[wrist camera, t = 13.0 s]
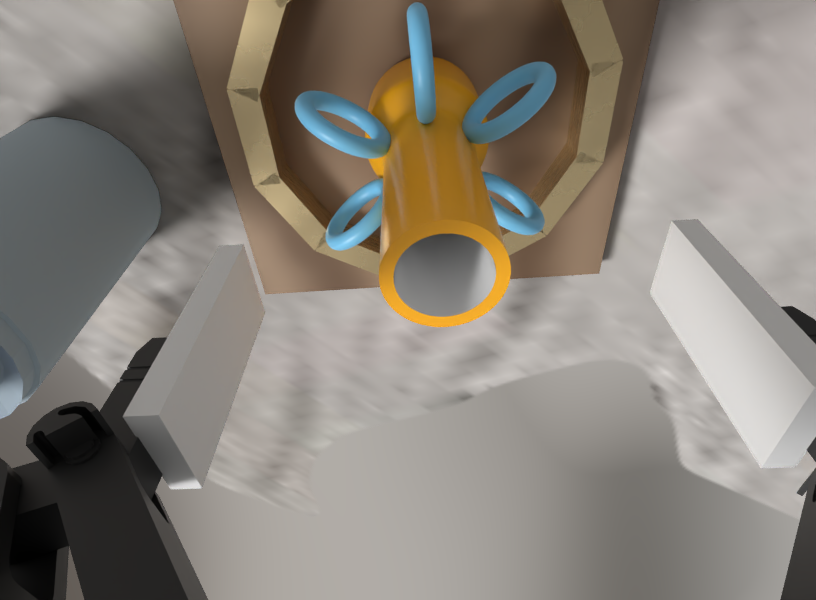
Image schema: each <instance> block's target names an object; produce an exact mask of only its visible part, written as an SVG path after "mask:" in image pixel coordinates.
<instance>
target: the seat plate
mask: <svg viewBox="0 0 816 600" xmlns="http://www.w3.org/2000/svg"><path fill="white" fill-rule="evenodd" d="M602 1H603V4H604V7H605V10H606V12H607V15H608V18H609V21H610V24H611V26H612V29H613V32H614V35H615V38H616V41H617V43H618V46H619V49H620V52H621V55H622V57H623V59H622V60H623V65H622V70H621V75H620V80H619V85H618V90H617V95H616V101H615V106H614V111H613V116H612V121H611V126H610V131H609V137H608V142H607V147H606V152H605V157H604V162H602V163H603V164H602V165H601V166H600V168H599V169H598V170H597V171H596V173H595V174H594V175H593V177H592V178H591V179H590V181H589V182H588V183H587V184H586V186H585V187H584V188H583V190H582V191H581V192H580V193H579V195H578V196H577V197H576V199H575V200H574V201H573V202H572V204H571V205H570V206H569V208H568V209H567V210H566V212H565V213H564V214H563V215H562V217H561V218H560V219H559V221H558V222H557V223H556V224H555V226H554V227H553V228H552V230H551V231H550V232H549V233H548V235H546V237H544V238H542V239H540V240H538V241H536V242H534V243H532V244H530V245H528V246H526V247H525V248H523V249H521V250H519V251H517V252H515V253H513V254H511V255H509V259H510V264H511V276H510V279H517V278H533V277H549V276H565V275H582V274H598V273H599V271H600V267H601V262H602V258H603V253H604V249H605V244H606V240H607V235H608V231H609V226H610V222H611V217H612V213H613V208H614V204H615V199H616V195H617V190H618V185H619V181H620V176H621V172H622V167H623V163H624V158H625V154H626V149H627V145H628V140H629V136H630V131H631V127H632V122H633V118H634V113H635V109H636V104H637V100H638V95H639V91H640V86H641V82H642V77H643V73H644V68H645V64H646V59H647V55H648V50H649V46H650V41H651V37H652V32H653V28H654V23H655V19H656V14H657V10H658V5H659V1H660V0H602ZM248 2H249V0H174V4H175V7H176V10H177V13H178V16H179V20H180V23H181V26H182V29H183V32H184V36H185V39H186V42H187V45H188V48H189V52H190V55H191V58H192V61H193V64H194V67H195V71H196V74H197V77H198V80H199V83H200V87H201V90H202V93H203V96H204V99H205V103H206V106H207V109H208V112H209V115H210V119H211V122H212V125H213V128H214V131H215V134H216V138H217V141H218V144H219V147H220V150H221V154H222V157H223V160H224V163H225V166H226V170H227V173H228V176H229V179H230V182H231V186H232V189H233V192H234V195H235V198H236V202H237V205H238V208H239V211H240V214H241V217H242V221H243V224H244V227H245V230H246V233H247V237H248V240H249V243H250V246H251V249H252V253H253V256H254V259H255V262H256V265H257V269H258V272H259V275H260V278H261V281H262V284H263V288H264V291H265V294H276V293H292V292H308V291H324V290H340V289H357V288H373V287H380V284H379V275H376V274H374V273H371V272H369V271H366V270H363V269H361V268H358V267H356V266H353V265H350V264H348V263H345V262H343V261H340V260H337V259H335V258H332V257H330V256H327V255H324V254H322V253H319V252H316V250H313V248H312V247H311V246H310V245H309V244H308V243H307V242H306V241H305V240H304V239H303V238H302V237H301V236H300V235H299V234H298V233H297V231H296V230H295V229H294V228H293V227H292V226H291V225H290V224H289V223H288V222H287V221H286V220H285V219H284V218H283V217H282V216H281V214H280V213H279V212H278V211H277V210H276V209H275V208H274V207H273V206H272V205H271V204H270V203H269V202H268V201H267V200H266V199H265V197H264V196H263V195H262V194H261V193H260V192H259V191H258V190H257V189H256V188H255V185H253V181H252V178H251V174H250V171H249V167H248V164H247V160H246V156H245V153H244V149H243V146H242V142H241V139H240V135H239V132H238V128H237V125H236V121H235V118H234V114H233V110H232V107H231V103H230V100H229V96H228V93H227V85H228V81H229V77H230V73H231V69H232V65H233V61H234V57H235V53H236V49H237V45H238V41H239V37H240V33H241V29H242V25H243V21H244V17H245V14H246V10H247V6H248ZM415 2H419V3H422V4H423V5H424V6H425V7H426V9H427V12H428V17H429V24H430V33H431V42H432V53H433V57H438V58H442V59H445V60H447V61H449V62H451V63H453V64H454V65H456V66H457V67H459V68H460V69H461V70H462V71H463V72H464V73H465V74H466V75H467V76H468V78H469V79H470V81H471V82H472V84H473V86H474V88H475V90H476V92H477V94H478V97H479V96H480V95H481V94H482V93H483V92H484V91H485V90H487V89H488V88H489V87H490V86H491V85H492V84H494V83H495V82H496V81H498V80H499V79H500V78H502V77H503V76H505V75H506V74H508V73H509V72H511V71H513V70H515V69H517V68H519V67H521V66H523V65H526V64H528V63H532V62H546V63H549V64H550V65H552V66H553V68H554V69H555V72H556V84H555V87H554V90H553V92H552V94H551V95H550V97H549V98H548V100H547V101H546V103H545V104H544V105H543V106H542V107H541V108H540V110H539V111H538V112H537V113H536V114H535V115H533V116H532V117H531V118H530V119H529V120H528V121H527V122H525V123H524V124H523V125H521V126H520V127H519V128H517V129H516V130H514V131H513V132H511V133H509V134H508V135H506V136H504V137H502V138H500V139H498V140H495V141H492V142H489V145H488V150H487V154H486V157H485V160H484V162H483V164H482V166H481V171H483V172H488V173H491V174H494V175H497V176H499V177H501V178H503V179H505V180H507V181H508V182H510V183H512V184H513V185H515V186H516V187H518V188H519V189H520V190H522V191H523V192H524V193H526V194H527V195H528V196H529V195H530V194H531V192H532V191H533V190H534V188H535V187H536V185H537V184H538V183H539V181H540V180H541V178H542V177H543V175H544V174H545V173H546V171H547V170H548V168H549V167H550V166H551V164H552V163H553V161H554V160H555V159H556V157H557V156H558V154H559V153H560V151H561V150H562V149H563V147H564V146H565V144H566V142H567V135H568V128H569V121H570V114H571V107H572V100H573V93H574V86H575V79H576V72H577V65H578V60H577V57H576V55H575V53H574V50H573V48H572V45H571V43H570V40H569V38H568V36H567V33H566V31H565V28H564V26H563V23H562V21H561V19H560V16H559V14H558V11H557V9H556V6H555V4H554V2H553V0H293V1H292V4H291V8H290V11H289V14H288V18H287V21H286V24H285V28H284V31H283V34H282V38H281V41H280V44H279V48H278V51H277V54H276V58H275V61H274V64H273V68H272V71H271V74H270V78H269V81H268V87H269V92H270V96H271V100H272V105H273V109H274V113H275V118H276V122H277V126H278V131H279V135H280V139H281V144H282V148H283V152H284V157H285V161H286V163H287V164H288V166H289V167H290V168H291V169H292V170H293V171H294V172H295V174H296V175H297V176H298V177H299V178H300V179H301V181H302V182H303V183H304V184H305V185H306V186H307V187H308V189H309V190H310V191H311V192H312V193H313V194H314V196H315V197H316V198H317V199H318V200H319V201H320V202H321V204H322V205H323V206H324V207H325V208H326V209H327V210H328V212H329V213H330V214H331V215H332V216H334V215H335V213H336V212H337V211H338V209H339V208H340V207H341V206H342V205H343V203H344V202H345V201H346V200H347V199H348V198H349V197H350V196H352V195H353V194H354V193H355V192H356V191H357V190H359V189H360V188H361V187H363V186H364V185H366V184H368V183H369V182H371V181H373V180H376V179H379V177H378V176H377V175H376V173H375V172H374V170H373V168H372V166H371V164H370V162H369V160H368V158H361V157H357V156H353V155H350V154H347V153H345V152H342V151H340V150H338V149H336V148H334V147H332V146H330V145H328V144H326V143H325V142H323V141H321V140H320V139H319V138H317V137H316V136H314V135H313V134H312V133H311V132H310V131H308V130H307V129H306V128H305V127H304V125H303V124H302V123H301V122H300V120H299V119H298V117H297V115H296V112H295V101H296V99H297V97H298V96H299V95H300V94H302V93H303V92H306V91H323V92H327V93H331V94H334V95H337V96H340V97H342V98H344V99H347V100H349V101H351V102H353V103H355V104H356V105H358V106H360V107H362V108H363V109H365V110H366V111H368V106H369V102H370V98H371V95H372V92H373V90H374V88H375V86H376V84H377V82H378V81H379V79H380V78H381V77H382V76H383V75H384V74H385V73H386V72H387V71H388V70H389V69H390V68H391V67H393V66H394V65H396V64H397V63H399V62H401V61H403V60H406V59H409V58H411V56H410V45H409V35H408V24H407V10H408V8H409V6H410V5H411V4H413V3H415ZM533 84H534V83H531V84H528V85H525V86H523V87H521V88H519V89H517V90H516V91H514V92H512V93H511V94H509V95H508V96H506V97H505V98H504V99H503V100H501V101H500V102H499V103H498V104H497V105H496V106H495V107H493V108H492V110H491V111H490V112H489V113H488V114H487V115H486V117H487V120H488V121H490V120H493V119H494V118H496V117H498V116H500V115H501V114H503V113H504V112H506V111H507V110H509V109H510V108H511V107H512V106H514V105H515V104H516V103H517V102H518V101H519V100H521V99H522V98H523V97H524V96H525V94H526V93H527V92H528V91H529V90H530V89H531V87H532V86H533ZM317 111H318V112H319V113H320V114H321V115H322V116H323V117H324V118H325V119H327V120H328V121H330V122H331V123H333V124H334V125H336V126H338V127H339V128H341V129H343V130H345V131H347V132H349V133H352V134H354V135H357V136H360V137H364V138H365V131H364V130H362V129H361V128H360V127H358V126H357V125H355V124H354V123H352V122H350V121H348V120H346V119H344V118H342V117H340V116H338V115H335V114H332V113H329V112H325V111H320V110H317ZM488 193H489V195H490V196H491V197H492V198H493V199H494V200H496V201H497V202H498V203H500V204H501V205H502V206H504V207H505V208H507V209H509V210H510V211H512V210H514V209H516V208H517V207H516V206H514V205H513V204H512V203H511V202H509V201H508V200H507V199H505V198H504V197H502V196H500V195H498V194H497V193H495V192H492V191H490V190H488ZM378 198H379V196H377V197H375V198H374V199H372V200H371V201H369V202H368V203H366V204H365V205H364V206H363V207H362V208H361V209H360V210H359V211H358V212H357V213H356V214H355V215H354V216H353V217H352V218H351V220H350V221H349V222H348V223H349V224H351V225H355V224H357V223H358V222H359V221H360V220H361V219H362V218H363V217H364V216H365V215H366V214H367V213H368V212H369V211H370V210H371V208H372V207H373V206H374V204H375V203H376V201H377V200H378ZM373 234H376V235H378V236H381V225H380V226H379V227H378V228H377V229H376V230H375V231H374V232H373Z"/></svg>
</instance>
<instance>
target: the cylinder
mask: <svg viewBox="0 0 816 600" xmlns="http://www.w3.org/2000/svg"><path fill="white" fill-rule="evenodd" d="M407 24H408V35H409V45H410V56H411V58H409V59H406V60H403V61H401V62H399V63H397V64H396V65H394V66H393V67H391V68H390V69H389V70H388V71H387V72H386V73H385V74H384V75H383V76H382V77H381V78H380V79H379V81H378V82H377V84H376V86H375V88H374V90H373V92H372V95H371V98H370V102H369V106H368V111H366V110H365V109H363V108H362V107H360V106H358V105H356V104H355V103H353V102H351V101H349V100H347V99H344V98H342V97H340V96H337V95H334V94H331V93H327V92H323V91H306V92H303V93H302V94H300V95H299V96H298V97H297V99H296V101H295V112H296V115H297V117H298V119H299V120H300V122H301V123H302V124H303V125H304V127H305V128H306V129H307V130H308V131H310V132H311V133H312V134H313V135H314V136H316V137H317V138H319V139H320V140H321V141H323V142H325V143H326V144H328V145H330V146H332V147H334V148H336V149H338V150H340V151H342V152H345V153H347V154H350V155H353V156H357V157H361V158H368V160H369V162H370V164H371V166H372V168H373V170H374V172H375V173H376V175H377V176H378V177H379V179H376V180H373V181H371V182H369V183H368V184H366V185H364V186H363V187H361V188H360V189H359V190H357V191H356V192H355V193H354V194H353V195H352V196H350V197H349V198H348V199H347V200H346V201H345V202H344V203H343V205H342V206H341V207H340V208H339V209H338V211H337V212H336V213H335V215H334V216H333V218H332V219H331V221H330V223H329V225H328V227H327V230H326V242H327V244H328V246H329V247H330V248H332V249H334V250H338V251H341V250H346V249H349V248H352V247H354V246H356V245H357V244H359V243H361V242H362V241H364V240H365V239H366V238H367V237H369V236H370V235H371V234H372V233H373V232H374V231H375V230H376V229H377V228H378V227H379V226H380V225H381V239H380V260H379V284H380V289H381V292H382V294H383V296H384V298H385V300H386V301H387V303H388V304H389V305H390V306H391V307H392V308H393V309H394V310H395V311H396V312H397V313H398V314H400V315H401V316H403V317H404V318H406V319H408V320H410V321H412V322H415V323H418V324H422V325H426V326H433V327H450V326H456V325H460V324H464V323H467V322H470V321H473V320H475V319H477V318H479V317H481V316H482V315H484V314H485V313H487V312H488V311H490V310H491V309H492V308H493V307H494V306H495V305H496V304H497V303H498V302H499V301H500V299H501V298H502V297H503V295H504V293H505V292H506V289H507V287H508V284H509V281H510V276H511V264H510V259H509V256H508V253H507V250H506V247H505V243H504V240H503V237H502V234H501V231H500V228H499V225H500V226H502V227H504V228H506V229H508V230H510V231H512V232H515V233H518V234H522V235H534V234H537V233H539V232H540V231H541V230H542V229H543V227H544V224H545V219H544V215H543V213H542V211H541V210H540V208H539V207H538V205H537V204H536V203H535V202H534V201H533V200H532V199H531V198H530V197H529V196H528V195H527V194H526V193H524V192H523V191H522V190H520V189H519V188H518V187H516V186H515V185H513V184H512V183H510V182H508V181H507V180H505V179H503V178H501V177H499V176H497V175H494V174H491V173H488V172H483V171H481V166H482V164H483V162H484V160H485V157H486V154H487V150H488V145H489V142H492V141H495V140H498V139H500V138H502V137H504V136H506V135H508V134H509V133H511V132H513V131H514V130H516V129H517V128H519V127H520V126H521V125H523V124H524V123H525V122H527V121H528V120H529V119H530V118H531V117H532V116H533V115H535V114H536V113H537V112H538V111H539V110H540V108H541V107H542V106H543V105H544V104H545V103H546V101H547V100H548V98H549V97H550V95H551V94H552V92H553V90H554V87H555V84H556V72H555V69H554V68H553V66H552V65H550V64H549V63H546V62H532V63H528V64H526V65H523V66H521V67H519V68H517V69H515V70H513V71H511V72H509V73H508V74H506V75H505V76H503V77H502V78H500V79H499V80H498V81H496V82H495V83H494V84H492V85H491V86H490V87H489V88H488V89H487V90H485V91H484V92H483V93H482V94H481V95H480V96H479V97H478V94H477V92H476V90H475V88H474V86H473V84H472V82H471V81H470V79H469V78H468V76H467V75H466V74H465V73H464V72H463V71H462V70H461V69H460V68H459V67H457V66H456V65H454V64H453V63H451V62H449V61H447V60H445V59H442V58H438V57H433V53H432V42H431V33H430V24H429V17H428V12H427V9H426V7H425V6H424V5H423V4H422V3H419V2H415V3H413V4H411V5H410V6H409V8H408V10H407ZM531 83H534V84H533V86H532V87H531V89H530V90H529V91H528V92H527V93H526V94H525V96H524V97H523V98H522V99H521V100H519V101H518V102H517V103H516V104H515V105H514V106H512V107H511V108H510V109H509V110H507V111H506V112H504V113H503V114H501V115H500V116H498V117H496V118H494V119H493V120H490V121H488V120H487V117H486V115H487V114H488V113H489V112H490V111H491V110H492V108H493V107H495V106H496V105H497V104H498V103H499V102H500V101H501V100H503V99H504V98H505V97H506V96H508V95H509V94H511V93H512V92H514V91H516V90H517V89H519V88H521V87H523V86H525V85H528V84H531ZM317 110H320V111H325V112H329V113H332V114H335V115H338V116H340V117H342V118H344V119H346V120H348V121H350V122H352V123H354V124H355V125H357V126H358V127H360V128H361V129H362V130H364V131H365V138H364V137H360V136H357V135H354V134H352V133H349V132H347V131H345V130H343V129H341V128H339V127H338V126H336V125H334V124H333V123H331V122H330V121H328V120H327V119H325V118H324V117H323V116H322V115H321V114H320V113H319V112H318V111H317ZM488 190H490V191H492V192H495V193H497V194H498V195H500V196H502V197H504V198H505V199H507V200H508V201H509V202H511V203H512V204H513V205H514V206H516V207H517V208H518V209H519V210H520V211H521V212H522V213H523V215H524V216H525V217H524V216H521V215H518V214H516V213H514V212H512V211H510V210H509V209H507V208H505V207H504V206H502V205H501V204H500V203H498V202H497V201H496V200H494V199H493V198H492V197H491V196H490V195H489V193H488ZM377 196H379V198H378V200H377V201H376V203H375V204H374V206H373V207H372V208H371V210H370V211H369V212H368V213H367V214H366V215H365V216H364V217H363V218H362V219H361V220H360V221H359V222H358V223H357V224H355V225H354V226H353V227H351V228H350V229H348V230H347V231H345V232H343V231H344V229H345V227H346V225H347V224H348V222H349V221H350V220H351V218H352V217H353V216H354V215H355V214H356V213H357V212H358V211H359V210H360V209H361V208H362V207H363V206H364V205H365V204H366V203H368V202H369V201H371V200H372V199H374V198H375V197H377Z"/></svg>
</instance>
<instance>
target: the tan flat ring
mask: <svg viewBox="0 0 816 600" xmlns="http://www.w3.org/2000/svg"><path fill="white" fill-rule="evenodd" d="M292 1H293V0H249V2H248V6H247V10H246V14H245V17H244V21H243V25H242V29H241V33H240V37H239V41H238V45H237V49H236V53H235V57H234V61H233V65H232V69H231V73H230V77H229V81H228V85H227V93H228V96H229V100H230V103H231V107H232V110H233V114H234V118H235V121H236V125H237V128H238V132H239V135H240V139H241V142H242V146H243V149H244V153H245V156H246V160H247V164H248V167H249V171H250V174H251V178H252V181H253V185H255V188H256V189H257V190H258V191H259V192H260V193H261V194H262V195H263V196H264V197H265V199H266V200H267V201H268V202H269V203H270V204H271V205H272V206H273V207H274V208H275V209H276V210H277V211H278V212H279V213H280V214H281V216H282V217H283V218H284V219H285V220H286V221H287V222H288V223H289V224H290V225H291V226H292V227H293V228H294V229H295V230H296V231H297V233H298V234H299V235H300V236H301V237H302V238H303V239H304V240H305V241H306V242H307V243H308V244H309V245H310V246H311V247H312V248H313V250H316V252H319V253H322V254H324V255H327V256H330V257H332V258H335V259H337V260H340V261H343V262H345V263H348V264H350V265H353V266H356V267H358V268H361V269H363V270H366V271H369V272H371V273H374V274H376V275H379V260H380V239H381V236H378V235H376V234H373V233H372V234H371V235H370V236H369V237H367V238H366V239H365V240H364V241H362V242H361V243H359V244H357V245H356V246H354V247H352V248H349V249H346V250H341V251H338V250H334V249H332V248H330V247H329V246H328V244H327V242H326V230H327V227H328V225H329V223H330V221H331V219H332V218H333V216H332V215H331V214H330V213H329V212H328V210H327V209H326V208H325V207H324V206H323V205H322V204H321V202H320V201H319V200H318V199H317V198H316V197H315V196H314V194H313V193H312V192H311V191H310V190H309V189H308V187H307V186H306V185H305V184H304V183H303V182H302V181H301V179H300V178H299V177H298V176H297V175H296V174H295V172H294V171H293V170H292V169H291V168H290V167H289V166H288V164H287V163H286V161H285V157H284V152H283V148H282V144H281V139H280V135H279V131H278V126H277V122H276V118H275V113H274V109H273V105H272V100H271V96H270V92H269V87H268V81H269V78H270V74H271V71H272V68H273V64H274V61H275V58H276V54H277V51H278V48H279V44H280V41H281V38H282V34H283V31H284V28H285V24H286V21H287V18H288V14H289V11H290V8H291V4H292ZM553 2H554V4H555V6H556V9H557V11H558V14H559V16H560V19H561V21H562V23H563V26H564V28H565V31H566V33H567V36H568V38H569V40H570V43H571V45H572V48H573V50H574V53H575V55H576V57H577V60H578V65H577V72H576V79H575V86H574V93H573V100H572V107H571V114H570V121H569V128H568V135H567V142H566V144H565V146H564V147H563V149H562V150H561V151H560V153H559V154H558V156H557V157H556V159H555V160H554V161H553V163H552V164H551V166H550V167H549V168H548V170H547V171H546V173H545V174H544V175H543V177H542V178H541V180H540V181H539V183H538V184H537V185H536V187H535V188H534V190H533V191H532V192H531V194H530V195H529V197H530V198H531V199H532V200H533V201H534V202H535V203H536V204H537V205H538V207H539V208H540V210H541V211H542V213H543V215H544V219H545V224H544V227H543V229H542V230H541V231H540V232H539V233H537V234H534V235H522V234H518V233H515V232H512V231H510V230H508V229H506V228H504V227H502V226H500V225H499V228H500V231H501V234H502V237H503V240H504V243H505V247H506V250H507V253H508V256H509V255H511V254H513V253H515V252H517V251H519V250H521V249H523V248H525V247H526V246H528V245H530V244H532V243H534V242H536V241H538V240H540V239H542V238H544V237H546V235H548V233H549V232H550V231H551V230H552V228H553V227H554V226H555V224H556V223H557V222H558V221H559V219H560V218H561V217H562V215H563V214H564V213H565V212H566V210H567V209H568V208H569V206H570V205H571V204H572V202H573V201H574V200H575V199H576V197H577V196H578V195H579V193H580V192H581V191H582V190H583V188H584V187H585V186H586V184H587V183H588V182H589V181H590V179H591V178H592V177H593V175H594V174H595V173H596V171H597V170H598V169H599V168H600V166H601V165H602V164H603V163H602V162H604V157H605V152H606V147H607V142H608V137H609V131H610V126H611V121H612V116H613V111H614V106H615V101H616V95H617V90H618V85H619V80H620V75H621V70H622V65H623V60H622V59H623V57H622V55H621V52H620V49H619V46H618V43H617V41H616V38H615V35H614V32H613V29H612V26H611V24H610V21H609V18H608V15H607V12H606V10H605V7H604V4H603V1H602V0H553ZM512 212H514V213H516V214H518V215H521V216H524V215H523V213H522V212H521V211H520V210H519V209H518V208H516V209H514V210H512ZM524 217H525V216H524ZM353 226H354V225H351V224H349V223H348V224H347V225H346V227H345V229H344V231H343V232H345V231H347V230H348V229H350V228H351V227H353Z"/></svg>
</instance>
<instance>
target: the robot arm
mask: <svg viewBox="0 0 816 600" xmlns="http://www.w3.org/2000/svg"><path fill="white" fill-rule="evenodd" d="M650 294H651V296H652V298H653V299H654V301H655V302H656V304H657V305H658V307H659V309H660V310H661V312H662V313H663V315H664V316H665V318H666V320H667V321H668V323H669V324H670V326H671V327H672V329H673V331H674V332H675V334H676V335H677V337H678V338H679V340H680V342H681V343H682V345H683V346H684V348H685V349H686V351H687V353H688V354H689V356H690V357H691V359H692V360H693V362H694V364H695V365H696V367H697V368H698V370H699V371H700V373H701V375H702V376H703V378H704V379H705V381H706V382H707V384H708V386H709V387H710V389H711V390H712V392H713V393H714V395H715V397H716V398H717V400H718V401H719V403H720V404H721V406H722V408H723V409H724V411H725V412H726V414H727V415H728V417H729V419H730V420H731V422H732V423H733V425H734V426H735V428H736V430H737V431H738V433H739V434H740V436H741V437H742V439H743V441H744V442H745V444H746V445H747V447H748V449H749V450H750V452H751V453H752V455H753V456H754V458H755V460H756V461H757V463H758V464H759V466H760V467H761V468H787V467H796V466H797V464H798V463H799V462H800V460H801V459H802V458H803V456H804V455H805V454H806V452H807V451H808V452H809V454H810V455H811V456H812V458H813V459H814V460H815V462H816V321H815V320H814V319H813V318H811V317H810V316H808V315H806V314H805V313H803V312H801V311H800V310H798V309H796V308H794V307H793V306H787V307H780V306H779V305H778V304H777V303H776V302H775V301H774V300H773V299H772V297H771V296H770V295H769V294H768V293H767V292H766V291H765V290H764V289H763V288H762V287H761V286H760V285H759V284H758V283H757V282H756V281H755V279H754V278H753V277H752V276H751V275H750V274H749V273H748V272H747V271H746V270H745V269H744V268H743V267H742V266H741V265H740V264H739V263H738V262H737V260H736V259H735V258H734V257H733V256H732V255H731V254H730V253H729V252H728V251H727V250H726V249H725V248H724V247H723V246H722V245H721V244H720V242H719V241H718V240H717V239H716V238H715V237H714V236H713V235H712V234H711V233H710V232H709V231H708V230H707V229H706V228H705V227H704V226H703V224H702V223H701V222H700V221H699V220H698V219H694V220H676V221H671V225H670V228H669V231H668V235H667V238H666V241H665V244H664V248H663V251H662V254H661V258H660V261H659V264H658V268H657V271H656V274H655V277H654V281H653V284H652V287H651V291H650ZM264 314H265V310H264V307H263V304H262V301H261V298H260V295H259V291H258V288H257V285H256V282H255V279H254V276H253V273H252V269H251V266H250V263H249V260H248V257H247V254H246V251H245V247H244V244H243V245H225V246H219V248H218V249H217V251H216V253H215V255H214V256H213V258H212V260H211V262H210V263H209V265H208V267H207V269H206V270H205V272H204V274H203V276H202V278H201V279H200V281H199V283H198V285H197V286H196V288H195V290H194V292H193V293H192V295H191V297H190V299H189V300H188V302H187V304H186V306H185V307H184V309H183V311H182V313H181V315H180V316H179V318H178V320H177V322H176V323H175V325H174V327H173V329H172V330H171V332H170V334H169V336H168V337H167V338H152V339H151V340H150V341H149V342H147V343H146V344H145V345H144V346H143V347H142V348H141V349H139V350H138V351H137V352H136V354H135V355H134V357H133V359H132V360H131V362H130V363H129V365H128V367H127V370H125V372H124V373H123V375H122V376H121V378H120V382H119V383H117V384H116V386H115V388H114V389H113V391H112V393H111V394H110V396H109V398H108V399H107V401H106V402H105V404H104V405H103V407H102V409H101V410H100V412H99V411H98V409H97V408H96V407H95V406H94V405H93V404H92V403H87V402H83V401H82V402H73V403H68V404H66V405H63V406H60V407H58V408H56V409H54V410H52V411H51V412H49V413H48V414H46V415H44V416H43V417H42V418H41V419H40V420H39V421H38V422H37V423H36V424H35V425H33V427H32V429H31V430H30V432H29V434H28V435H27V441H26V446H27V447H28V448H29V449H30V450H31V452H32V453H33V454H34V455H35V456H36V457H37V458H38V459H39V461H36V462H33V463H29V464H26V465H22V466H19V467H16V468H11V467H10V466H9V465H8V464H7V463H6V462H5V461H3V460H2V459H1V458H0V600H66V588H67V570H68V554H69V546H70V550H71V554H72V557H73V561H74V564H75V568H76V571H77V575H78V578H79V581H80V585H81V589H82V592H83V596H84V600H208V598H207V596H206V594H205V592H204V590H203V588H202V586H201V584H200V581H199V579H198V577H197V576H196V573H195V571H194V569H193V567H192V565H191V562H190V560H189V559H188V556H187V554H186V552H185V550H184V548H183V546H182V544H181V542H180V539H179V537H178V535H177V533H176V531H175V529H174V527H173V525H172V522H171V520H170V518H169V516H168V514H167V512H166V510H165V508H164V506H163V503H162V501H161V499H160V497H159V496H158V494H157V493H156V492H155V491H156V488H157V486H158V484H159V482H160V479H161V477H163V478H164V480H165V481H166V483H167V484H168V486H169V487H170V489H193V488H202V487H203V484H204V481H205V478H206V476H207V473H208V470H209V467H210V464H211V462H212V459H213V456H214V453H215V451H216V448H217V445H218V442H219V439H220V437H221V434H222V431H223V428H224V425H225V423H226V420H227V417H228V414H229V411H230V409H231V406H232V403H233V400H234V398H235V395H236V392H237V389H238V386H239V384H240V381H241V378H242V375H243V372H244V370H245V367H246V364H247V361H248V359H249V356H250V353H251V350H252V347H253V345H254V342H255V339H256V336H257V333H258V331H259V328H260V325H261V322H262V320H263V317H264ZM806 491H807V494H806V498H805V502H804V506H803V510H802V514H801V518H800V523H799V526H798V531H797V535H796V539H795V543H794V547H793V551H792V555H791V559H790V563H789V567H788V571H787V575H786V580H785V583H784V588H783V592H782V596H781V600H816V468H815V470H814V471H813V472H812V473H811V475H810V476H809V477H808V479H807V480H806V481H805V482H804V484H803V485H802V486H801V488H800V489H799V490H798V492H797V494H799V495H801V496H803V495H804V493H805V492H806Z"/></svg>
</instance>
